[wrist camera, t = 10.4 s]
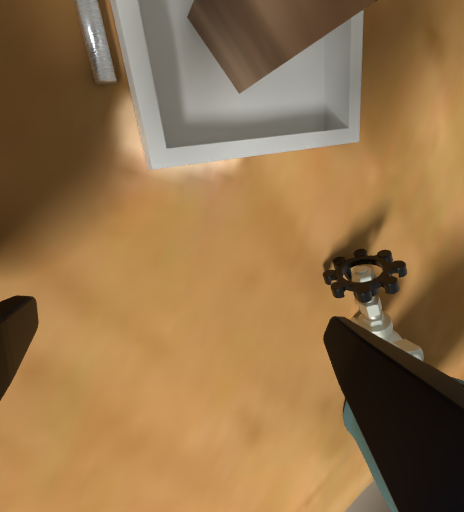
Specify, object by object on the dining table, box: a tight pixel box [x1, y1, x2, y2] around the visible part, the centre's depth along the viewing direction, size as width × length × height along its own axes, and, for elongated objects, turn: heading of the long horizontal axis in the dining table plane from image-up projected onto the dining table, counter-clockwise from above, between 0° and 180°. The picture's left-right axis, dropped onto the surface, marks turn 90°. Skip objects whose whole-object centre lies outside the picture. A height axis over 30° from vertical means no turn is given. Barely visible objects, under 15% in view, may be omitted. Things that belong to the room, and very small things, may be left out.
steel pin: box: [74, 0, 117, 85], centre depth 14 cm, size 7×1×1 cm
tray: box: [110, 0, 364, 170], centre depth 16 cm, size 15×15×3 cm
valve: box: [323, 249, 424, 361], centre depth 26 cm, size 7×7×12 cm
